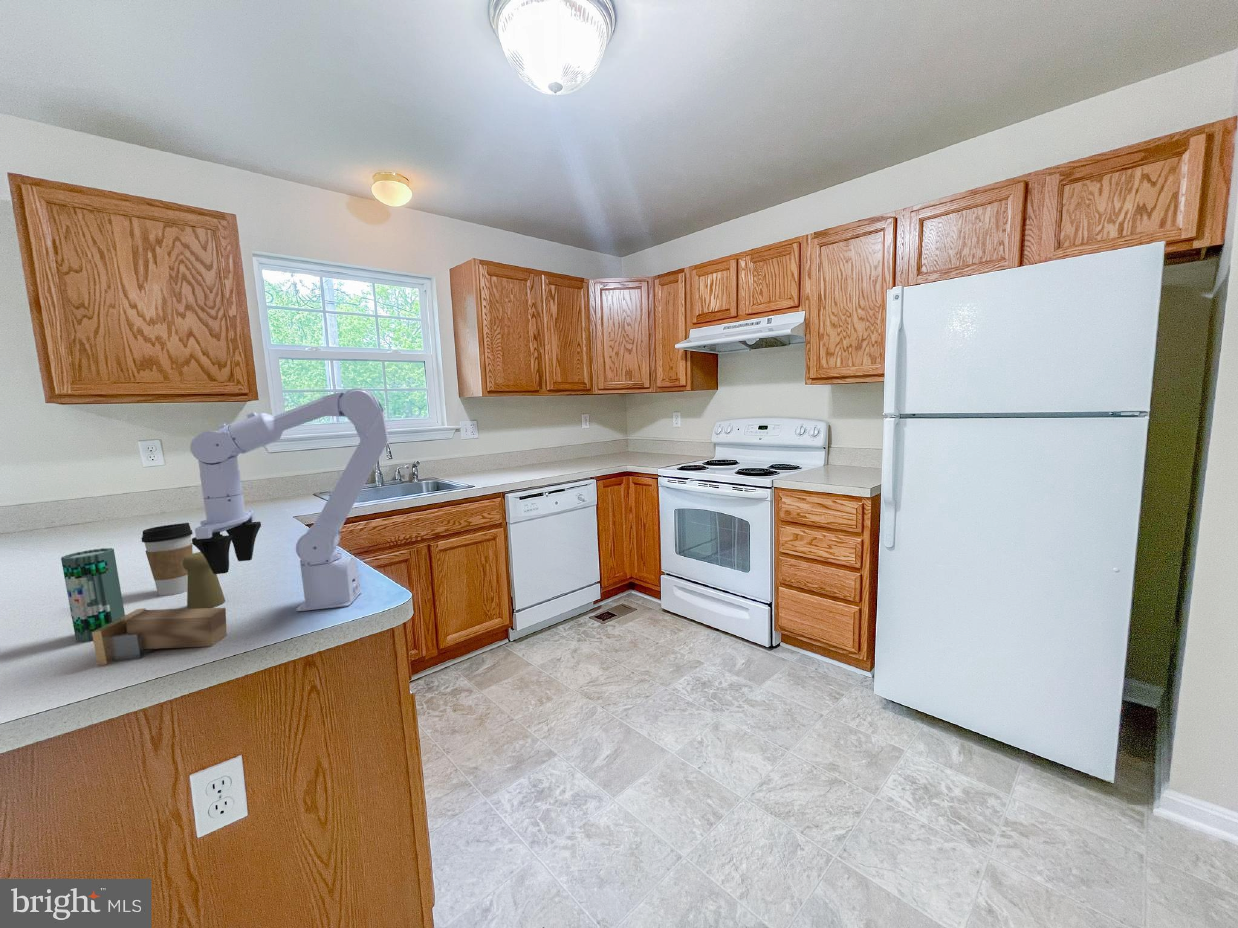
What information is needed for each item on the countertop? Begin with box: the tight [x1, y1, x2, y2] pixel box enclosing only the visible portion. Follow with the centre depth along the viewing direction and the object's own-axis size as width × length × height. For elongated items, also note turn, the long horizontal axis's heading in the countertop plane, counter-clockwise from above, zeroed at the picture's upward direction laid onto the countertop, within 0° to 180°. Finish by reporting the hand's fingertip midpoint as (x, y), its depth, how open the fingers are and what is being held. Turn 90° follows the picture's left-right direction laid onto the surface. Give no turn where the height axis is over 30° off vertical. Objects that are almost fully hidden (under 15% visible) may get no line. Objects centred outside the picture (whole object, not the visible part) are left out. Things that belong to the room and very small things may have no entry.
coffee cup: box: [141, 522, 194, 597], centre depth 109 cm, size 8×8×15 cm
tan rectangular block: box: [126, 607, 228, 650], centre depth 82 cm, size 12×4×5 cm, turn 100°
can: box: [60, 547, 126, 643], centre depth 87 cm, size 6×6×15 cm
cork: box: [183, 551, 226, 609], centre depth 99 cm, size 6×6×11 cm
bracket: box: [92, 608, 157, 666], centre depth 81 cm, size 5×9×6 cm, turn 10°
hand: (233, 566), depth 92 cm, fingers open, 7 cm apart
